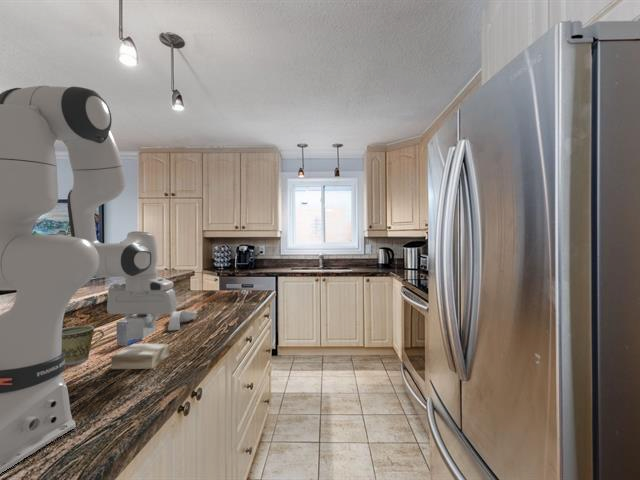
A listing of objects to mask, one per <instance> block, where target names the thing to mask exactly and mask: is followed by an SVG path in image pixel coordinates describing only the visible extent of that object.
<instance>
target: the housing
mask: <svg viewBox="0 0 640 480" xmlns="http://www.w3.org/2000/svg"><path fill="white" fill-rule="evenodd" d="M152 319H153V317H151V314H134V315H133V316H132V317H130V318H128V335H129V338H143V339H144V338H146V337H148V336H149V335H151V334H154V333H155V332H156V326H155V327H154V328H148V323H149V322H151V321H152Z"/></svg>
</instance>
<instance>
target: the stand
mask: <svg viewBox="0 0 640 480" xmlns="http://www.w3.org/2000/svg"><path fill="white" fill-rule="evenodd" d="M170 354H171V353H170V343H133V344H131V345H129V346H126V348H124V349H122V350H120V351H118V352H117V353H114V354H113V355H111V357H110V361H111V363H110V365H111V366H110V369H111V370H133V369H135V370H138V369H140V370H142V369H144V370H149V369H150V370H151V369H154V368H155V367H156V366H157V365H158V364H160V363H162V362H163V361H164V360H165V359H166V358H168V357H169V356H170Z"/></svg>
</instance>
